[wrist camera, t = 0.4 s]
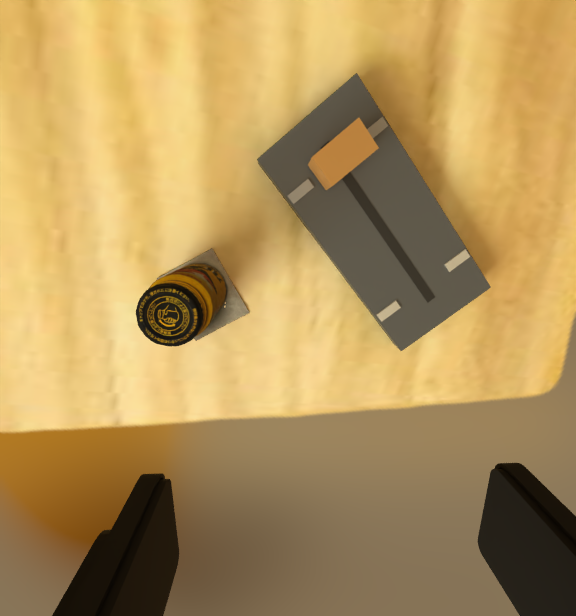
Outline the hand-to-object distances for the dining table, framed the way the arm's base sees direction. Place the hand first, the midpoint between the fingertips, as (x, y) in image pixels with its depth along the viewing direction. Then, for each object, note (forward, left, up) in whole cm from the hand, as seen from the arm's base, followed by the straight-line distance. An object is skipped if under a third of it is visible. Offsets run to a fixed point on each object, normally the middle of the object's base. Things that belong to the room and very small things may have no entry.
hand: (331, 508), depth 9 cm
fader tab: (-12, -8, -26) cm, 30 cm away
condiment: (+8, -6, -29) cm, 31 cm away
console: (-12, 0, -29) cm, 31 cm away
